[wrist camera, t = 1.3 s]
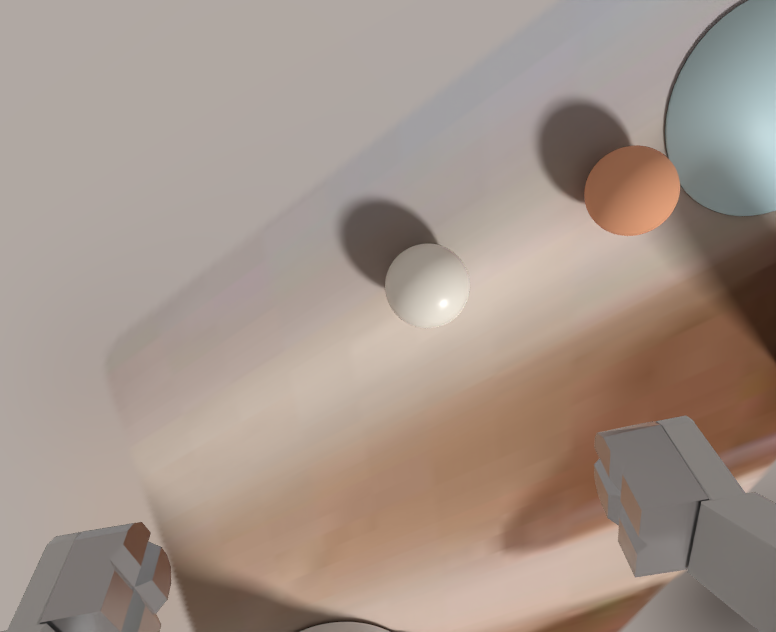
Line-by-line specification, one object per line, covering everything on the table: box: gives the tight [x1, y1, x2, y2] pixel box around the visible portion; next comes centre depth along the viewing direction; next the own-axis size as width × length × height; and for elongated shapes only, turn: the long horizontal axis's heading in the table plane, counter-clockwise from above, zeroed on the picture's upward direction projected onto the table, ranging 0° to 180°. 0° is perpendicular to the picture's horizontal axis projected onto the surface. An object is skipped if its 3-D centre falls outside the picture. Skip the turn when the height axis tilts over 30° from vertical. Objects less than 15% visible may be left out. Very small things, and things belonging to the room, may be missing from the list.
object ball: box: [584, 146, 680, 236], centre depth 36 cm, size 6×6×6 cm
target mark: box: [665, 0, 776, 216], centre depth 37 cm, size 14×14×1 cm
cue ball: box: [385, 243, 470, 328], centre depth 37 cm, size 6×6×6 cm
